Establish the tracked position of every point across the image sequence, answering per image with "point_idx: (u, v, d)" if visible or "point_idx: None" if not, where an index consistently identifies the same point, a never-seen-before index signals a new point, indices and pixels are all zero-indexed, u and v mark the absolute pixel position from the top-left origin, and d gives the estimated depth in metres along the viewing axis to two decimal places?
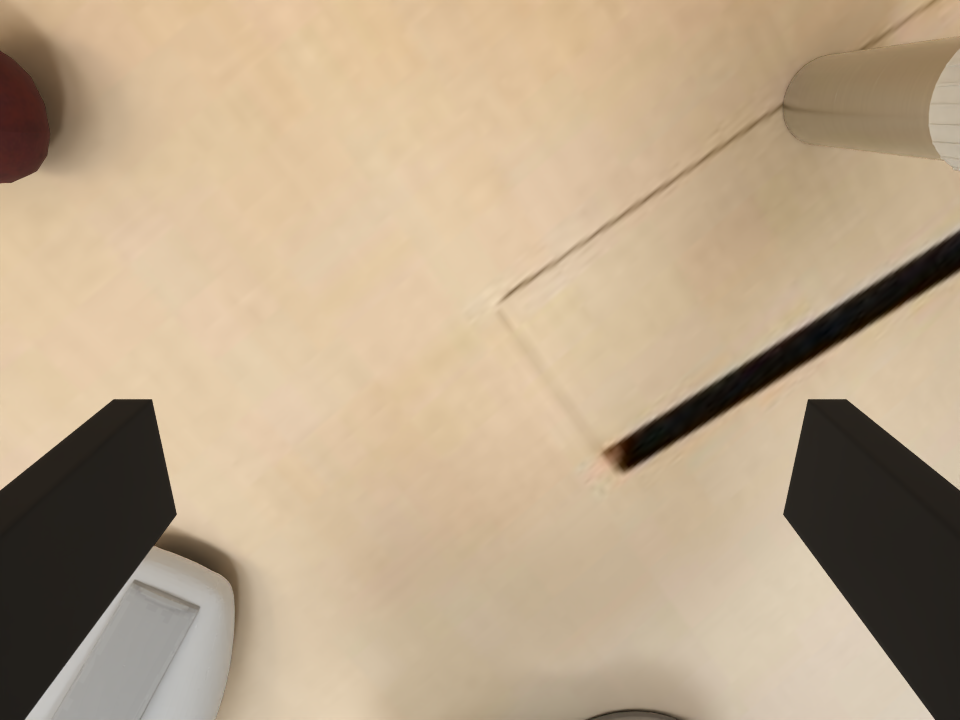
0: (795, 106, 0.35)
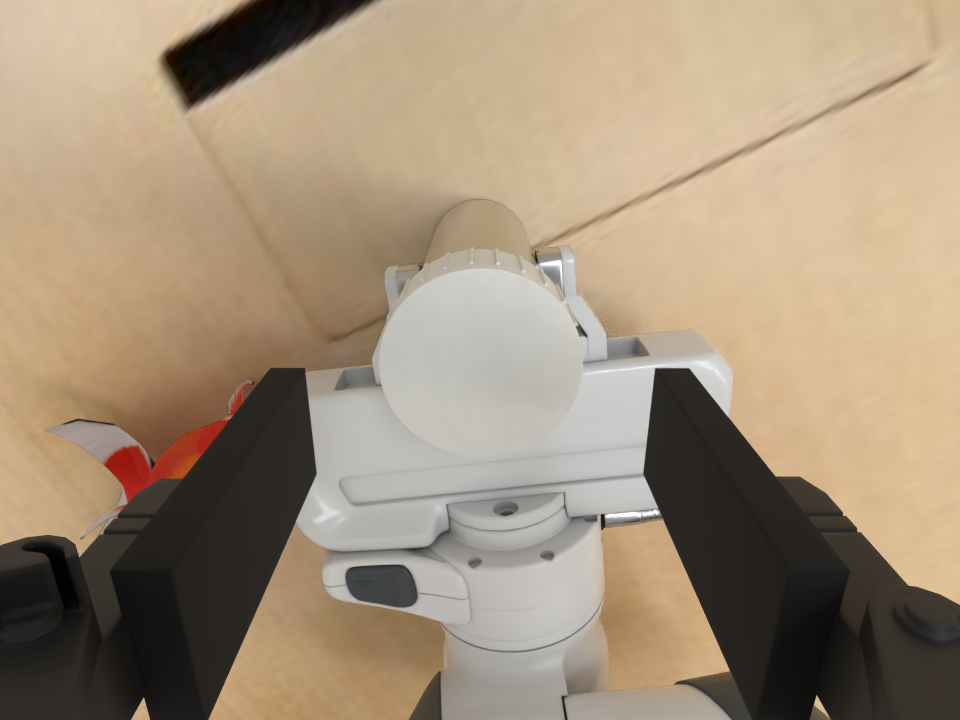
0: None
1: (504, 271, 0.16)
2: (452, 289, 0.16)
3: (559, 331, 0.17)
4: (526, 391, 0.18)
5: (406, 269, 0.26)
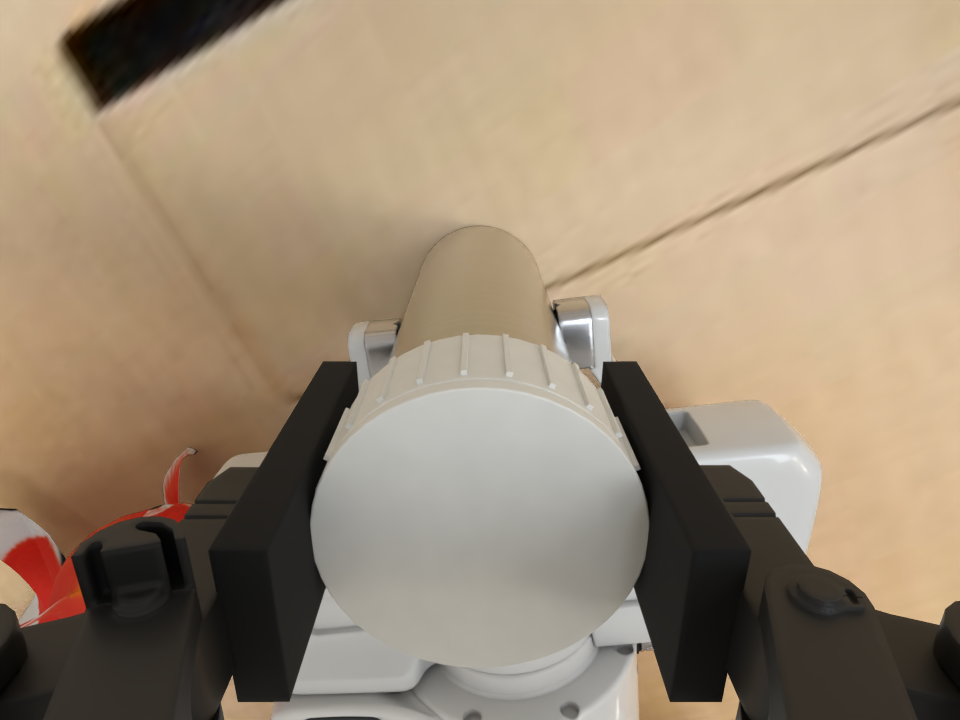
0: None
1: (520, 392, 0.09)
2: (431, 421, 0.10)
3: (612, 486, 0.10)
4: (555, 575, 0.11)
5: (378, 329, 0.19)
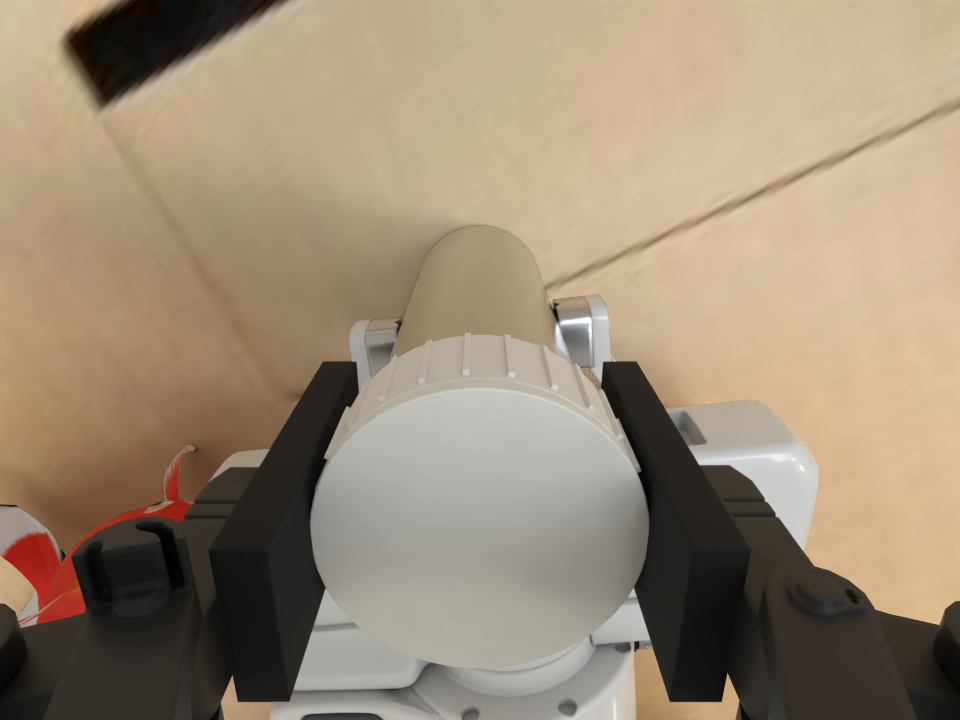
0: None
1: (311, 535, 0.10)
2: (358, 596, 0.11)
3: (386, 442, 0.10)
4: (508, 471, 0.10)
5: (379, 327, 0.19)
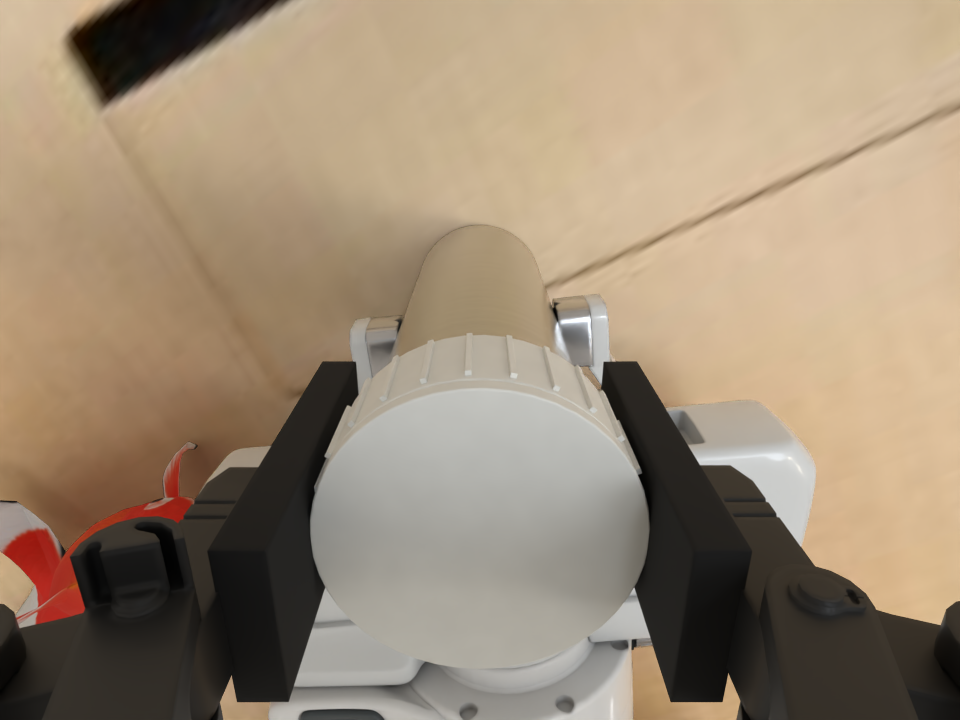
0: None
1: (500, 666, 0.11)
2: (563, 629, 0.11)
3: (388, 624, 0.11)
4: (392, 533, 0.10)
5: (380, 326, 0.19)
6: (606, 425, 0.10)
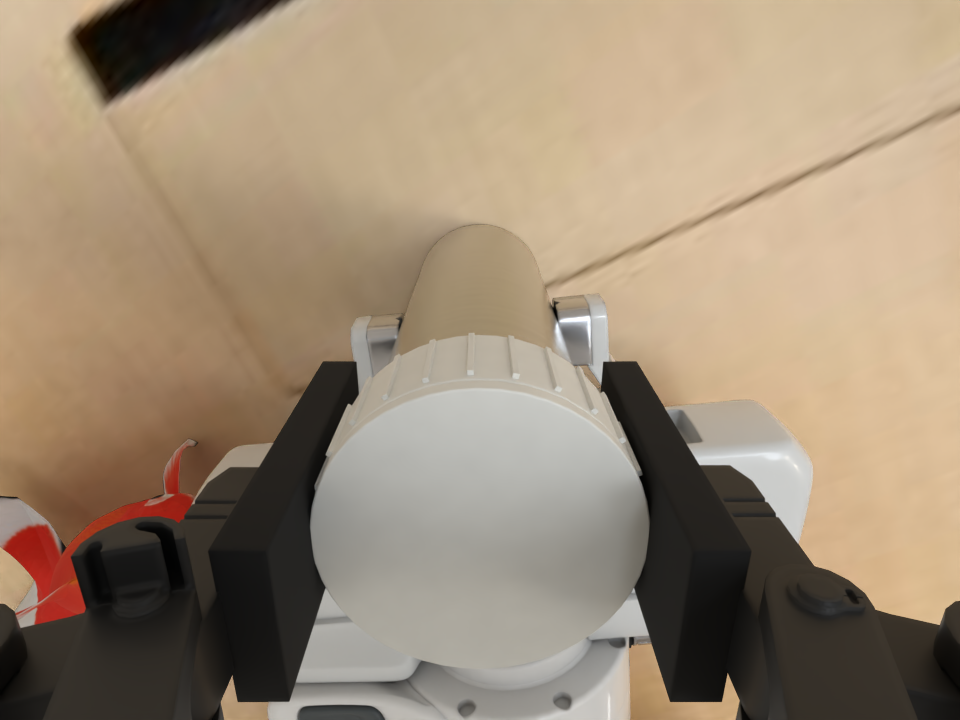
0: None
1: (645, 498, 0.10)
2: (580, 449, 0.10)
3: (595, 603, 0.11)
4: (483, 611, 0.11)
5: (381, 324, 0.19)
6: (339, 441, 0.10)
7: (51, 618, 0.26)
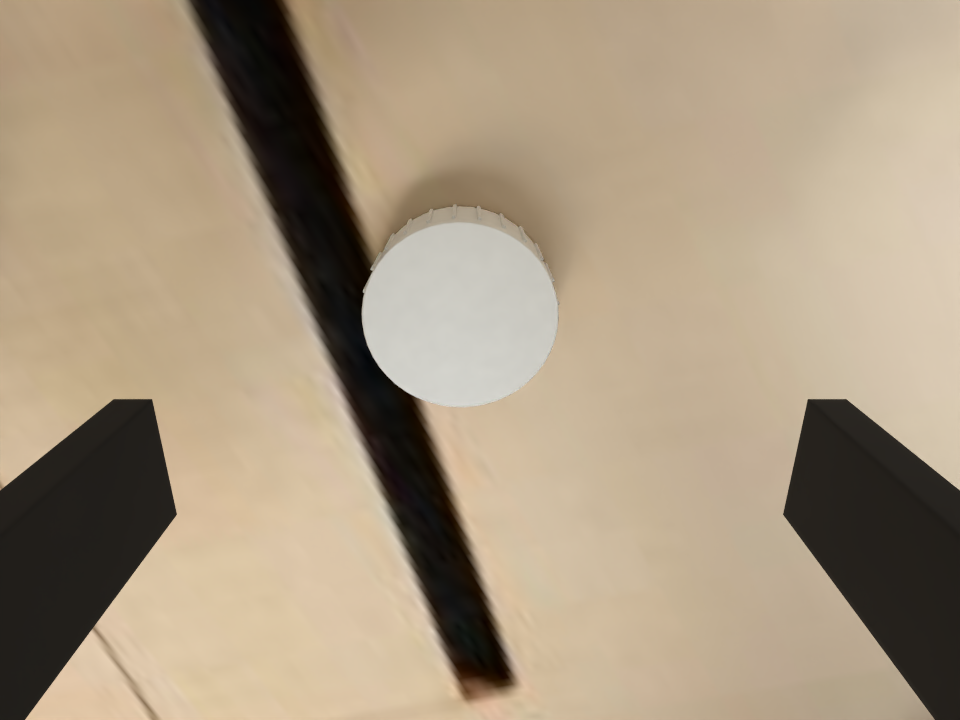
0: None
1: (554, 291, 0.18)
2: (516, 259, 0.17)
3: (529, 360, 0.19)
4: (463, 366, 0.19)
5: None
6: (378, 260, 0.18)
7: None
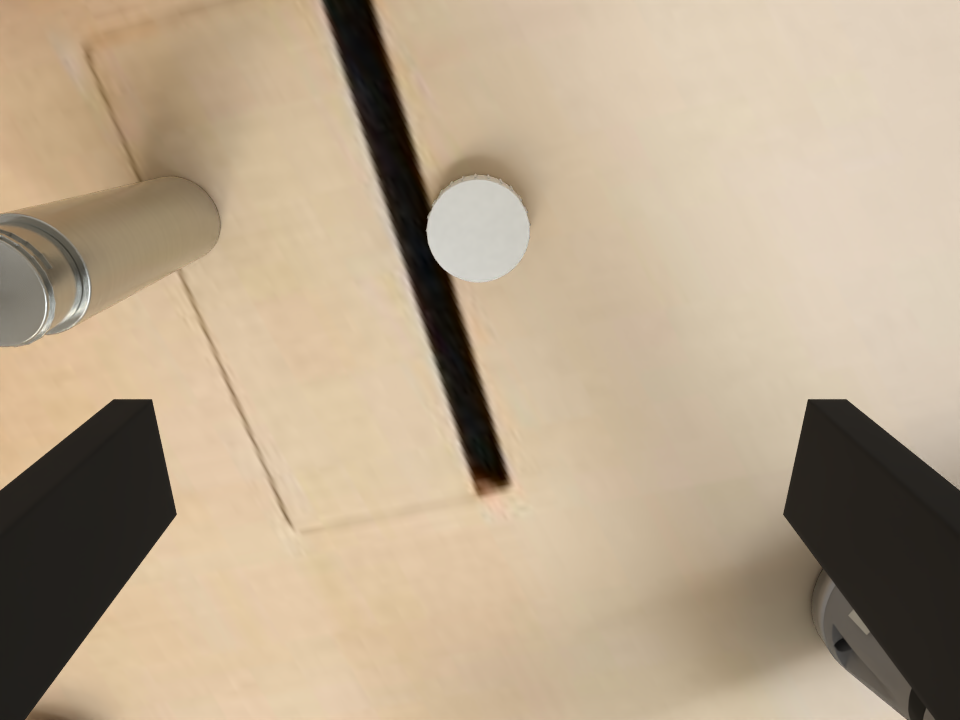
0: None
1: (527, 216, 0.34)
2: (507, 199, 0.34)
3: (514, 255, 0.35)
4: (479, 258, 0.35)
5: None
6: (436, 200, 0.34)
7: None
